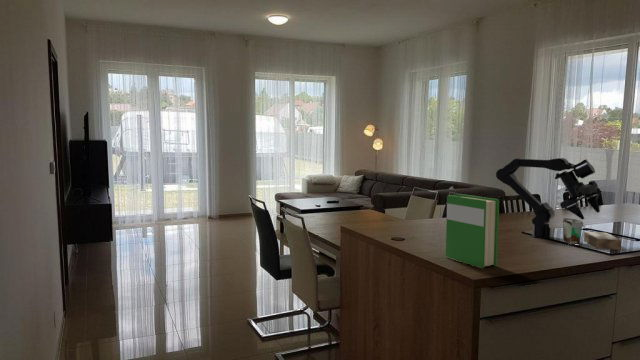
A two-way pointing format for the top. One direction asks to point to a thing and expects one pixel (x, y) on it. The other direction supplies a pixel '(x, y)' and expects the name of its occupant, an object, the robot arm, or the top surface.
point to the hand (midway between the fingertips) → (591, 215)
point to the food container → (572, 230)
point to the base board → (602, 240)
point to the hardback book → (472, 229)
